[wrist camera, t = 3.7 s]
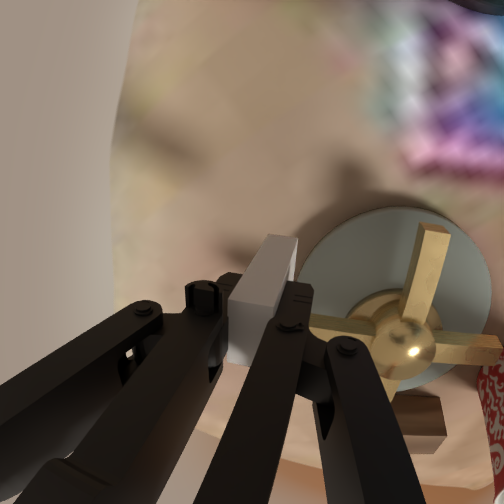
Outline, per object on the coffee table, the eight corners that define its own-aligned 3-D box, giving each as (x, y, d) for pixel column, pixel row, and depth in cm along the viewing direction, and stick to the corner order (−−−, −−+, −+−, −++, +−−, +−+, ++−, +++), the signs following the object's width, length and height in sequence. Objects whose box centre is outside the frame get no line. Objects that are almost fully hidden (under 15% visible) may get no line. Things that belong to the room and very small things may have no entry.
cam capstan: (303, 195, 21) (286, 227, 15) (516, 233, 17) (565, 274, 11) (280, 381, 27) (262, 441, 21) (447, 399, 24) (458, 457, 18)
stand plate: (305, 190, 22) (303, 195, 21) (508, 226, 18) (516, 233, 17) (283, 367, 28) (280, 378, 27) (445, 386, 25) (448, 397, 23)
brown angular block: (365, 391, 27) (364, 432, 23) (439, 397, 25) (447, 436, 21) (353, 418, 29) (351, 457, 24) (423, 423, 27) (427, 460, 23)
